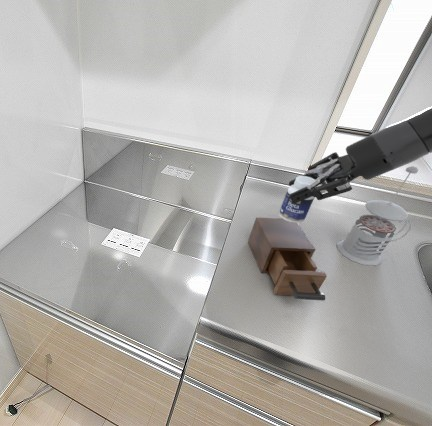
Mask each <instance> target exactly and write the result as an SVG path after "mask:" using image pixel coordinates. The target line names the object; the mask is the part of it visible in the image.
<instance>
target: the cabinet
mask: <svg viewBox="0 0 432 426" xmlns="http://www.w3.org/2000/svg"><path fill="white" fill-rule="evenodd" d="M247 243H248V246H249V248H250V250H251V253H252V255H253V257H254V260H255V263H256V264H257V267H258V269H259V271H260V274H267V275H268V274H269V275H270V273H269V271H268V269H267V266H268V264H269V261H270V259H271V256H272V254H273V252H274V250H284V251H306V252H308V254H309V255H310V257H311V258H312V257H313V255H314V253H315V252H316V248H315V247H314V245H313V243H312V242H311V240H310V239H309V238H308V236H307V235H306V233H305V232H304V230H303V229H302V227H301V226H300V225H299V223H293V222H289V221H286V220H284V219H283V218H282V217H255V220H254V223H253V225H252V228H251V232H250V235H249V238H248V240H247Z"/></svg>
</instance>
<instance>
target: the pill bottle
mask: <svg viewBox="0 0 432 426" xmlns="http://www.w3.org/2000/svg"><path fill="white" fill-rule="evenodd" d="M294 179H295V182H294V185H291V186H290V185H289V187H288V188H287V191H286V192H285V196H284V197H283V201H282V203H281V205H280V208H279V211H278V214H279V216H280V218H283V219H284V220H286V221H289V222H293V223H298V224H300V223H303V222H304V221H305V219H306V217H307V216H308V213H309V211H310V210H311V207H312V204H313V202H314V200H315V198H316V197H313V196H312V197H309V198H307V199H305V200H302V201H300V202H297V203H293V202H292V200H291V199H290V198H289V195H290V194H291V193H293V192H296V191H298V190H300V189H302V188H305V187H308V186H309V185H311V184H313V183H314V182H316V180H315V179H313V178H311V177H307V176H302V175H299V176H297V177H295V178H294Z"/></svg>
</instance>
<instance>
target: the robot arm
mask: <svg viewBox="0 0 432 426" xmlns="http://www.w3.org/2000/svg"><path fill="white" fill-rule="evenodd" d="M345 152H346V154H344V155H342V156H340V155H339V153H338V152H335V151H334V152H332V153H330V154H329V155H327V156H325V157H323V158H322V159H320V160H318V161H317V162H315V163H313V164H311V165H309V166H308V167H307V171H305V173H304V174H302V175H301V176H307V177H311V178H313V179H315V180H316V182H314V183H313V184H311V185H309V186H308V187H305V188H302V189H300V190H298V191H296V192H293V193H291V194H290V195H289V198H290V199H291V200H292V202H293V203H297V202H300V201H302V200H305V199H307V198H309V197H312V196H313V197H315V198H316V200H317V201H322V200H326V199H329V198H332V197H335V196H338V195H341V194H345V193H348V192H351V191H352V190H353V187H352V185H351V182H353V181H354V180H355V179H357V178H359V177H362V178H363V180H367V181H369V180H371V179H374V178H376V177H379V176H382V175H383V174H386V173H388V172H391V171H394V170H396V169H398V168H401V167H404V166H406V165H409V164H411V163H413V162H415V161H417V160H419V159H421V158H423V157H425V156H427V155H429V154H431V153H432V106H431V107H427V108H426V109H424V110H422V111H420V112H418V113H416V114H414V115H412V116H410V117H408V118H406V119H403V120H402V121H399V122H396V123H393V124H390V125H389V126H386V127H384V128H382V129H380V130H378V131H376V132H375V133H374V132H373V133H371V135H368V136H366V137H364V138H362V139H359V140H357V141H356V142H353V143H351V144H349V145H347V146H346V147H345ZM295 179H296V178H294V179H291V180H289V181H288V186H289V187H290V186H291V185H294V182H295Z"/></svg>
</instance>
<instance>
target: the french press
mask: <svg viewBox="0 0 432 426" xmlns="http://www.w3.org/2000/svg"><path fill="white" fill-rule="evenodd" d="M405 172H407V173H408V174H407V176H406V177H405V179H404V181H403V182H402V183H401V185H400V186H399V188H398V190H397V192H396V193H395V194H394V196H393V198H392V199H391V201H390V200H389V201H388V200H383V199H373V200H368V201H366V202H365V204H364V206H365V209H366V211H368V213H370V214H363V215H360V216H359V219H356V221H355V222H354V224H353V225H352V227H351V229H350V230H349V232H348V234H347V236H346V237H345V239H343V240H340V241H338V242H337V244H336V248H337V251H339V253H340V254H341V255H342V256H343V257H345V258H347V259H348V260H349V261H352V262H354V263H357V264H360V265H365V266H377V265H379V264H382V260H383V258H382V256H381V254H382V253H383V251H384V250H385V249H386V247H388V244H389V243H391V242H396V241H398V240H401V239H403V238H404V237H406V236H407V234H409V232H410V231H411V229H412V222H411V220H409V219H408V218H409V213H408V212H407V211H406V210H405V208H403V206H400V205H399V204H396V203H394V202H393V201H394V200H395V199H396V197H397V195H398V193H399V192H400V190H402V187H404V184H405V183H406V182H407V180H408V178H409V177H410V175H411V174H413V175H415V174H417V173H418V172H419V169H418V167H416V166H413V165H411V166H408V167H406V168H405ZM403 221H405V223H404V225H403V227H402V228H401V229H400V230H399V231H398V232H396V230H397V227H396V225H395V224H394V223H393V222H399V223H403ZM407 224H409V228H408V230H407V231H406V232H405V233H404V234H402V236H400V237H398V238H396V239H393V238H394V236H397V235H398V234H400V233H402V232H403V231H404V229H405V228H406V227H407ZM366 232H367V233H366ZM395 232H396V233H395ZM388 234H389V235H388Z"/></svg>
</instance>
